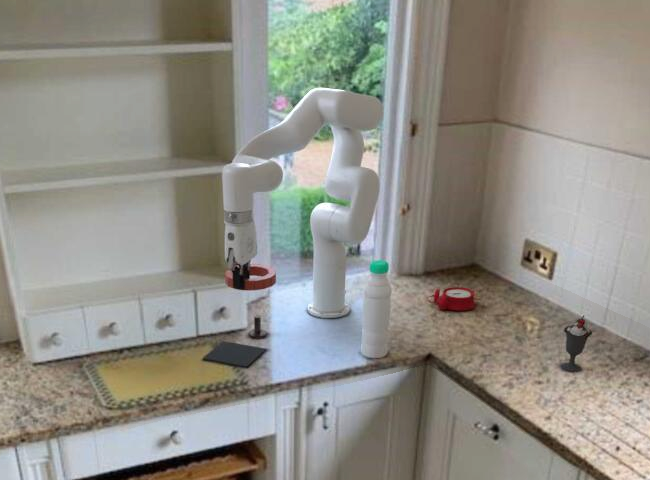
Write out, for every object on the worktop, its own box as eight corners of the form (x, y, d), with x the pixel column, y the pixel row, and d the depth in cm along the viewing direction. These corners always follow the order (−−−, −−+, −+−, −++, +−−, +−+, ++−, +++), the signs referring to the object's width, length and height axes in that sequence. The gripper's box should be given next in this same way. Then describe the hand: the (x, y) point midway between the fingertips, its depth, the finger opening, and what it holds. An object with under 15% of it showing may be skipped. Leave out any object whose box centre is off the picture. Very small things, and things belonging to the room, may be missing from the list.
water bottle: (386, 360, 209) (392, 267, 196) (359, 358, 211) (363, 266, 198) (388, 349, 215) (394, 258, 202) (362, 347, 216) (366, 257, 203)
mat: (223, 342, 220) (223, 341, 220) (266, 350, 216) (266, 348, 215) (202, 359, 211) (202, 358, 211) (247, 368, 206) (247, 366, 206)
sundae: (571, 375, 200) (582, 319, 192) (551, 365, 205) (561, 310, 198) (590, 370, 203) (602, 314, 195) (570, 360, 208) (581, 305, 200)
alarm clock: (484, 299, 236) (436, 290, 233) (477, 318, 239) (430, 310, 236) (474, 286, 245) (428, 278, 242) (467, 305, 248) (422, 297, 245)
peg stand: (253, 330, 227) (253, 312, 225) (269, 333, 226) (269, 314, 223) (245, 336, 224) (245, 318, 221) (262, 339, 222) (261, 321, 219)
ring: (239, 270, 221) (239, 261, 219) (283, 276, 216) (283, 267, 215) (216, 286, 210) (216, 277, 209) (263, 293, 206) (262, 283, 204)
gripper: (238, 226, 191) (240, 299, 201) (266, 209, 204) (267, 278, 213) (210, 222, 194) (214, 295, 204) (239, 206, 206) (242, 275, 216)
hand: (241, 286), depth 208 cm, fingers closed on ring, 2 cm apart
